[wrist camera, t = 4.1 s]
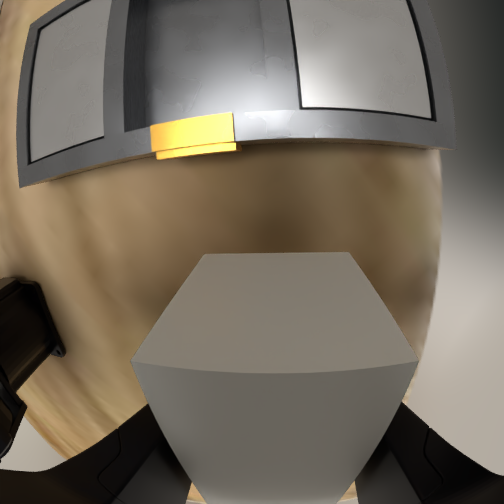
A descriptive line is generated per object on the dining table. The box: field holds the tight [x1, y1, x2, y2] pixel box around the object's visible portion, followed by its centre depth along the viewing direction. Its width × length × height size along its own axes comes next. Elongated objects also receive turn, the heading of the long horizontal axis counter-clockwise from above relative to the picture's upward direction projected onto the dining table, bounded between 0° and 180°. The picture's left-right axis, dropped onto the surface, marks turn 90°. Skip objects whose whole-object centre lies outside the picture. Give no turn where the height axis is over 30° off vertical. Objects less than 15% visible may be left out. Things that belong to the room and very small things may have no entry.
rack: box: [16, 0, 456, 188], centre depth 8 cm, size 11×20×3 cm, turn 94°
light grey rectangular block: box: [131, 252, 419, 504], centre depth 6 cm, size 7×4×4 cm, turn 3°
